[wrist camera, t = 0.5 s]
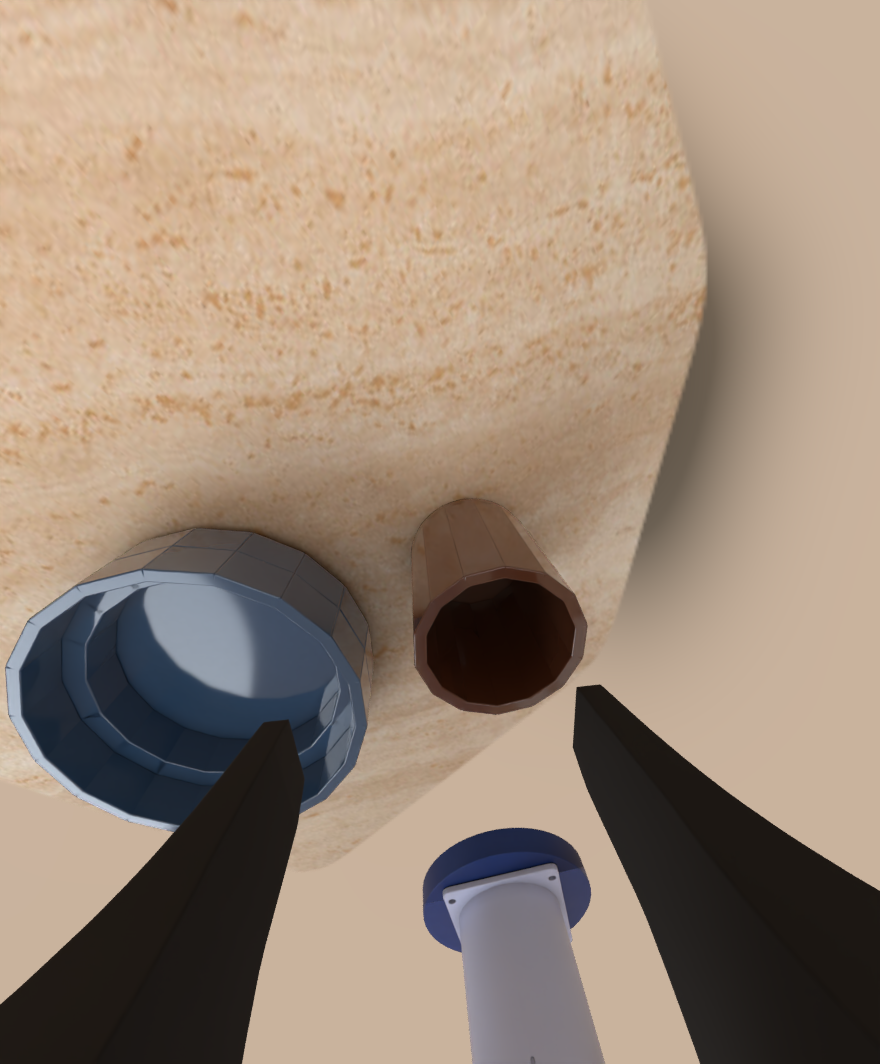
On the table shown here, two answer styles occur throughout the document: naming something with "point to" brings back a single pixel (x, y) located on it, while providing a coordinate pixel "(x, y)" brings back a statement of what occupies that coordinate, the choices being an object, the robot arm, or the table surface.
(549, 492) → the table surface
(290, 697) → the bowl
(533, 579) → the cup
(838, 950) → the robot arm
